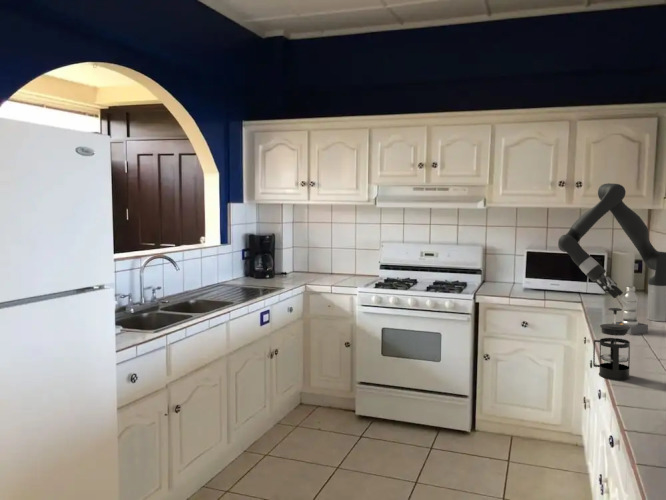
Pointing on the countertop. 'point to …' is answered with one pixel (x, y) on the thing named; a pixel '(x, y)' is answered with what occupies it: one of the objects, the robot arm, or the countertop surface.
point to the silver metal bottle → (630, 307)
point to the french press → (613, 351)
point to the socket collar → (636, 328)
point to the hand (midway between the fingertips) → (618, 295)
